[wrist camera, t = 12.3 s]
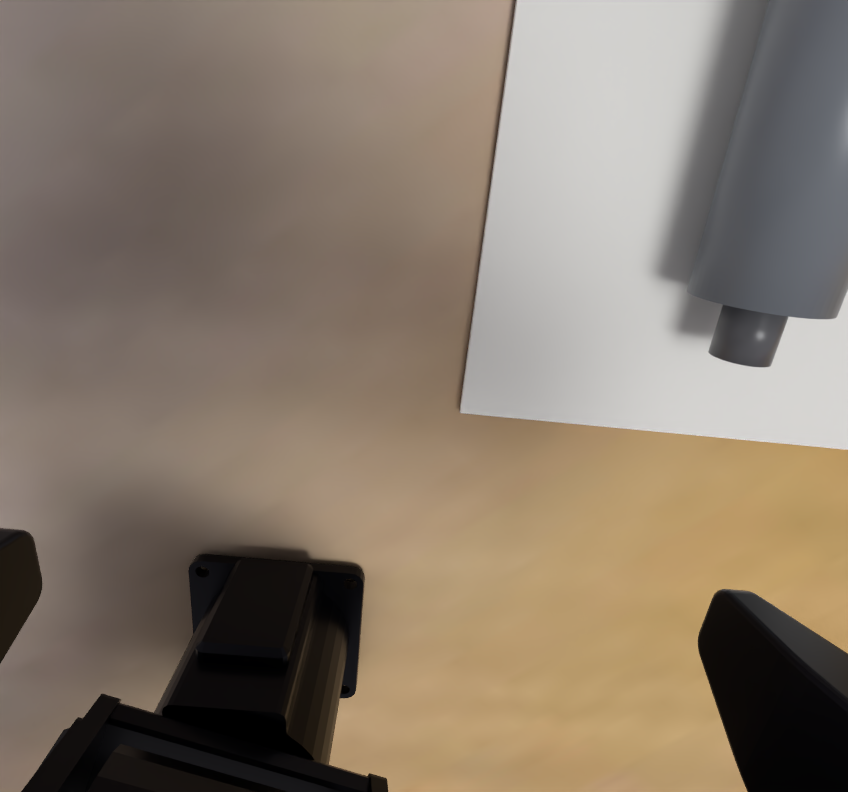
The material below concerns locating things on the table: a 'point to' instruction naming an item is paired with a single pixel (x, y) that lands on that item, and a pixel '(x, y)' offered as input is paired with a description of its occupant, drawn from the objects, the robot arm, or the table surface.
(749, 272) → the marker
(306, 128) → the table surface
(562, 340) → the paper sheet
